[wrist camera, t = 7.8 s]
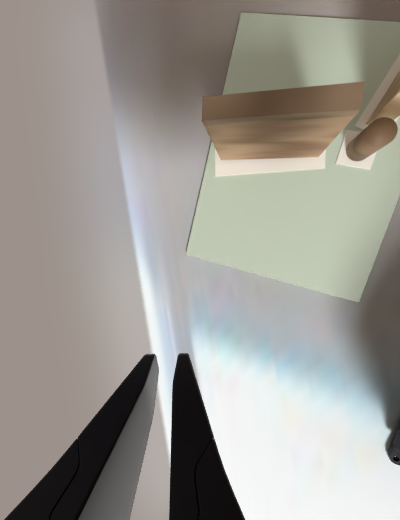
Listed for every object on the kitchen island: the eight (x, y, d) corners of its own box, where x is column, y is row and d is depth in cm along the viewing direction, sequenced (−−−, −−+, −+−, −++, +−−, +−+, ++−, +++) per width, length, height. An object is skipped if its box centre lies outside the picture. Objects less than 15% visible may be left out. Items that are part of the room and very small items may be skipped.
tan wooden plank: (320, 141, 18) (364, 81, 11) (318, 157, 19) (361, 109, 11) (221, 145, 20) (202, 96, 13) (220, 160, 20) (202, 120, 13)
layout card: (459, 30, 16) (466, 24, 16) (356, 301, 20) (359, 303, 20) (241, 16, 19) (241, 11, 19) (186, 254, 23) (185, 254, 23)
